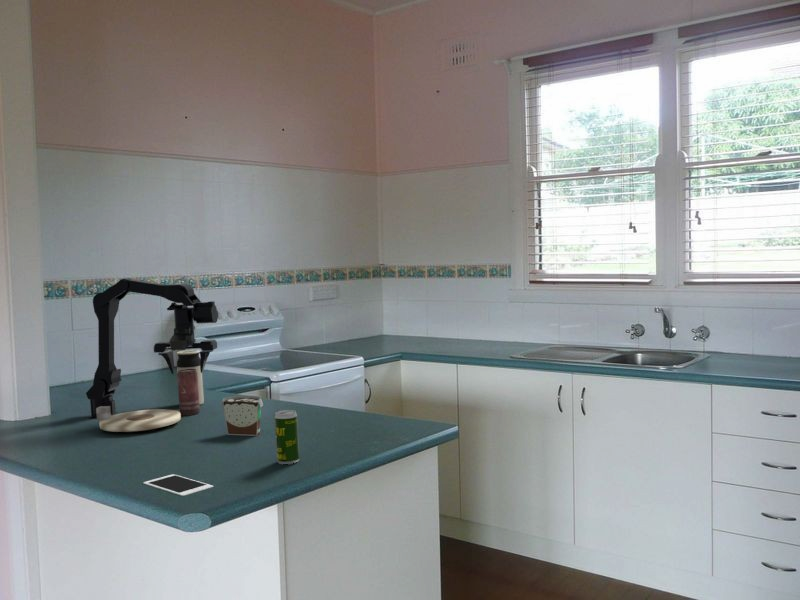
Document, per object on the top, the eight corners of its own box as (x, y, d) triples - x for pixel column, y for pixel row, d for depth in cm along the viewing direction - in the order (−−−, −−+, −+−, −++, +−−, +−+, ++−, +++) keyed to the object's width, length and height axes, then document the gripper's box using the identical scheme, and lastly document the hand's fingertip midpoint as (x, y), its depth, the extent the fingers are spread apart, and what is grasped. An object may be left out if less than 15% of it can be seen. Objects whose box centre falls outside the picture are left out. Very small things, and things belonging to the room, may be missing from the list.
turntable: (82, 433, 225) (81, 415, 225) (114, 415, 248) (113, 399, 248) (166, 430, 224) (165, 412, 224) (190, 412, 247) (189, 396, 247)
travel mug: (207, 401, 270) (204, 349, 269) (199, 406, 263) (195, 352, 261) (184, 402, 271) (181, 350, 270) (175, 407, 263) (172, 353, 262)
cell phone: (183, 498, 166) (182, 495, 166) (142, 485, 177) (142, 482, 177) (214, 488, 172) (214, 485, 172) (173, 476, 183) (173, 473, 183)
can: (195, 415, 248) (192, 371, 247) (176, 415, 250) (173, 371, 249) (203, 411, 254) (201, 368, 253) (185, 411, 255) (182, 368, 254)
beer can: (289, 457, 193) (286, 408, 192) (304, 460, 190) (301, 411, 189) (272, 462, 189) (269, 413, 188) (287, 466, 186) (284, 415, 185)
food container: (272, 430, 223) (270, 395, 222) (262, 436, 217) (260, 399, 216) (234, 429, 227) (232, 394, 226) (222, 434, 221) (220, 399, 220)
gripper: (145, 327, 242) (149, 378, 243) (206, 325, 241) (209, 376, 242) (158, 324, 253) (161, 372, 254) (216, 321, 252) (219, 370, 253)
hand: (187, 373), depth 251 cm, fingers open, 9 cm apart
